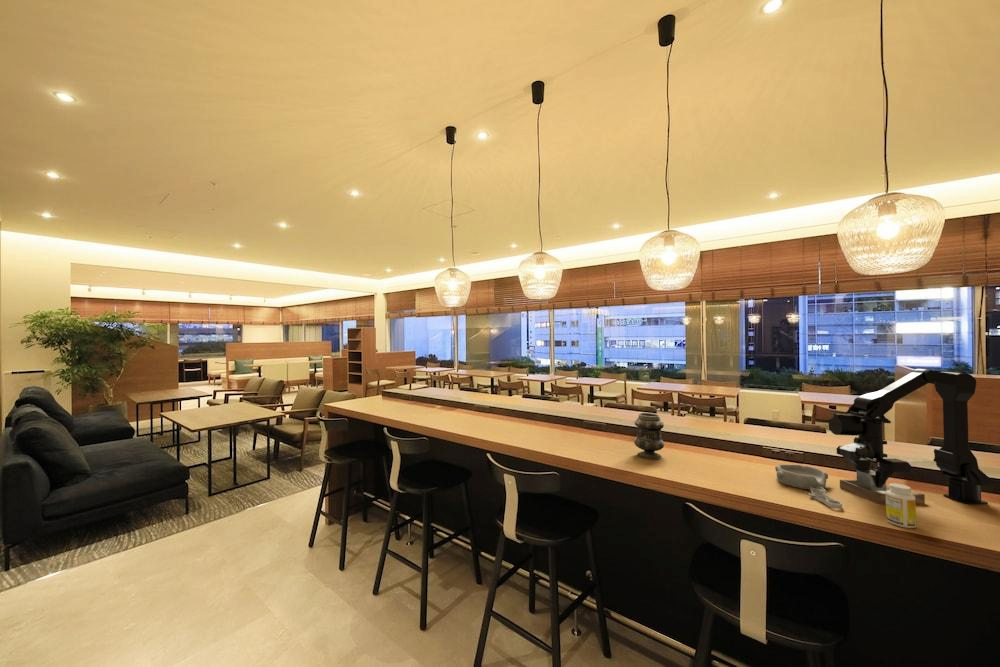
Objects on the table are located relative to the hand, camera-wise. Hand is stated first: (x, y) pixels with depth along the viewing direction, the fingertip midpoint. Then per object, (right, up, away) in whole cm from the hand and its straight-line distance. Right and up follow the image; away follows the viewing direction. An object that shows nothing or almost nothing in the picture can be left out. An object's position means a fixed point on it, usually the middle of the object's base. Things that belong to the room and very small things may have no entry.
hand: (871, 484), depth 120 cm
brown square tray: (+3, -3, 0) cm, 4 cm away
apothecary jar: (-55, -4, +41) cm, 69 cm away
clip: (0, -1, 0) cm, 1 cm away
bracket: (-18, -3, -4) cm, 19 cm away
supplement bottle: (-11, -3, -19) cm, 22 cm away
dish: (-15, -4, +10) cm, 19 cm away
